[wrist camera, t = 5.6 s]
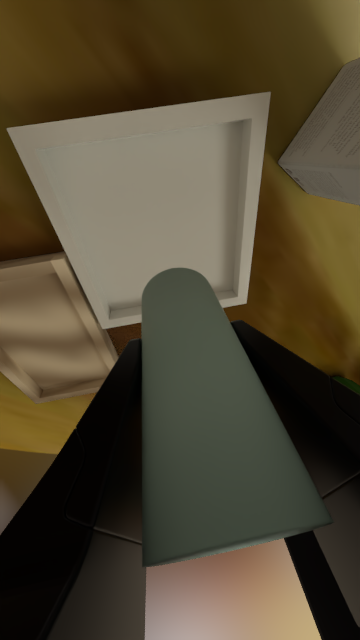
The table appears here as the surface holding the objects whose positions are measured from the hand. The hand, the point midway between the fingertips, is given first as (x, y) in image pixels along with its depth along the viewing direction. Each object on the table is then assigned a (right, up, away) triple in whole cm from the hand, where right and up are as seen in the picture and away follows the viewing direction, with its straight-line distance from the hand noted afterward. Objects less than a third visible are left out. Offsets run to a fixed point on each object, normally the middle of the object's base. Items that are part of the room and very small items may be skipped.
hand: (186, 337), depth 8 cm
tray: (-15, -1, +15) cm, 21 cm away
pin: (0, +2, +2) cm, 2 cm away
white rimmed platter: (-2, +8, +10) cm, 13 cm away
